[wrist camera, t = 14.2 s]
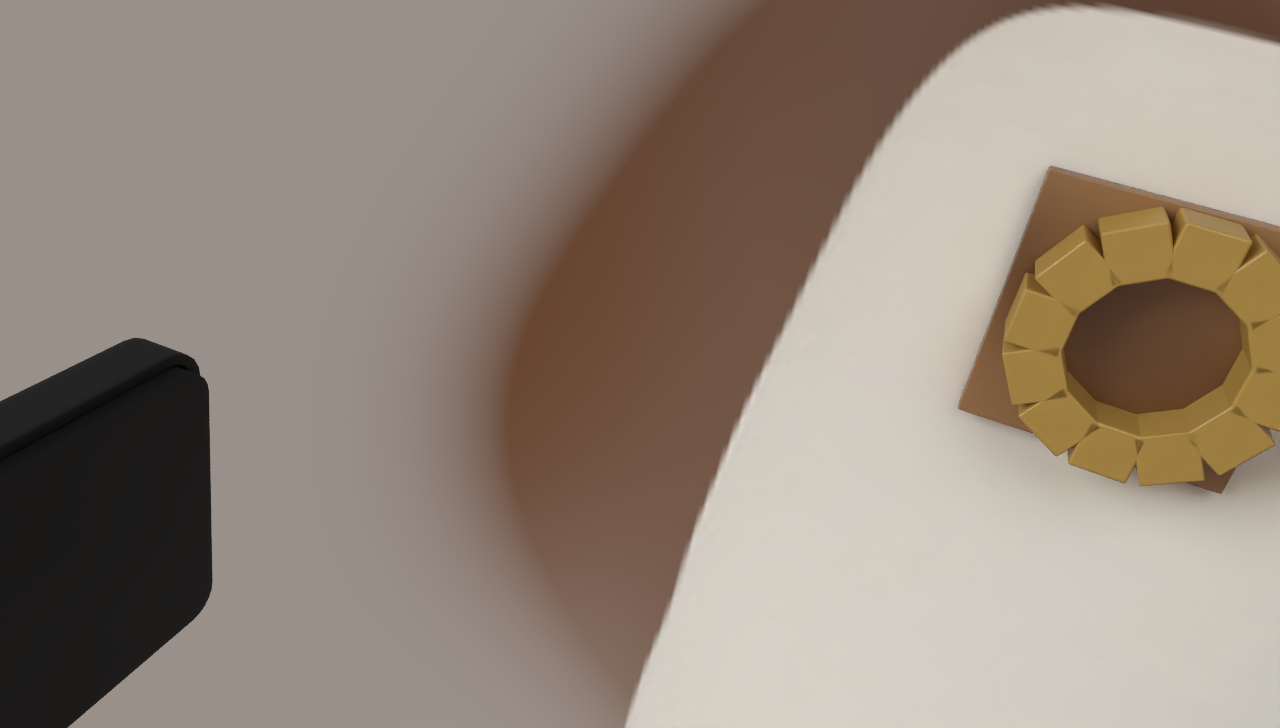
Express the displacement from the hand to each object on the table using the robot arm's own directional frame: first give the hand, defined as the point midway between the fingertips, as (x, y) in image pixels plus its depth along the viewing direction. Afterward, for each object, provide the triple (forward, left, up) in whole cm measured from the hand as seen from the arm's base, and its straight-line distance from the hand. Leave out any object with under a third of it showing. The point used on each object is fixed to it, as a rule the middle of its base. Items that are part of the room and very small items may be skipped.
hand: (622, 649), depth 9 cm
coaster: (+4, +8, -24) cm, 26 cm away
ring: (+4, +8, -24) cm, 26 cm away
